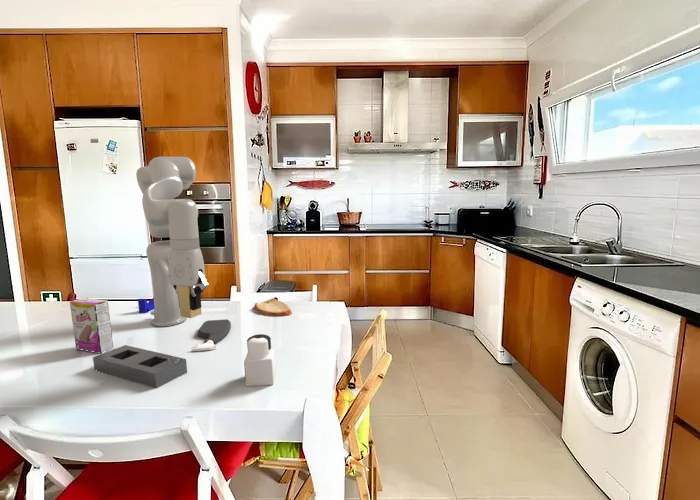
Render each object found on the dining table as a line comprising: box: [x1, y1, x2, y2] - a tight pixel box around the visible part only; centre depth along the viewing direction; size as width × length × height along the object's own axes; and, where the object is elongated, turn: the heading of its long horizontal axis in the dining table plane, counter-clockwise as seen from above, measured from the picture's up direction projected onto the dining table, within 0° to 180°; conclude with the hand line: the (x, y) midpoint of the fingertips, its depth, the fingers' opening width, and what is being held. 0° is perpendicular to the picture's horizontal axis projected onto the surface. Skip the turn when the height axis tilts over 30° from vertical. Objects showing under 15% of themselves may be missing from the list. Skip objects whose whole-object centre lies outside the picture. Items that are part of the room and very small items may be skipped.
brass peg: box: [178, 286, 202, 319], centre depth 118 cm, size 4×4×10 cm
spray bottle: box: [191, 319, 232, 352], centre depth 143 cm, size 3×11×24 cm
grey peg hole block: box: [92, 344, 188, 389], centre depth 117 cm, size 26×10×4 cm, turn 63°
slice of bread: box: [253, 297, 293, 318], centre depth 174 cm, size 18×18×4 cm
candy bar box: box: [69, 297, 114, 354], centre depth 134 cm, size 11×5×16 cm, turn 71°
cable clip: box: [137, 296, 155, 314], centre depth 180 cm, size 12×4×6 cm, turn 171°
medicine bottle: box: [243, 333, 277, 387], centre depth 110 cm, size 7×7×12 cm
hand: (190, 307), depth 119 cm, fingers closed on brass peg, 4 cm apart
